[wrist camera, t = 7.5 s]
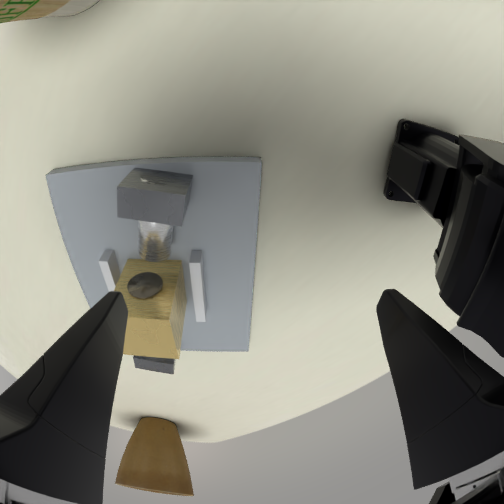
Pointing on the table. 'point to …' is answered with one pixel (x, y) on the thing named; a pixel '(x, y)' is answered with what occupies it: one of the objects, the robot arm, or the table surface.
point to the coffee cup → (41, 8)
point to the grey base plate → (183, 239)
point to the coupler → (153, 307)
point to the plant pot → (155, 459)
